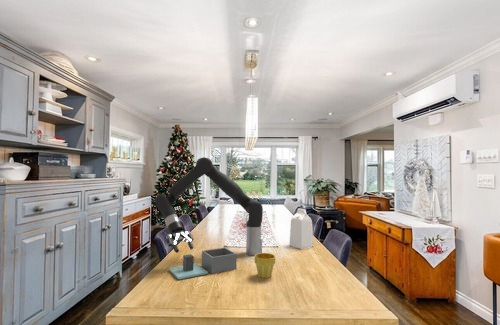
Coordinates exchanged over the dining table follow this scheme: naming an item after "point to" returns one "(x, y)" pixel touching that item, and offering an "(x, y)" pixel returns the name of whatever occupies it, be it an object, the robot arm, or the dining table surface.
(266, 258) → the plant pot
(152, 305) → the dining table surface
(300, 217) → the milk
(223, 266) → the tub
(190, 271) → the lid
